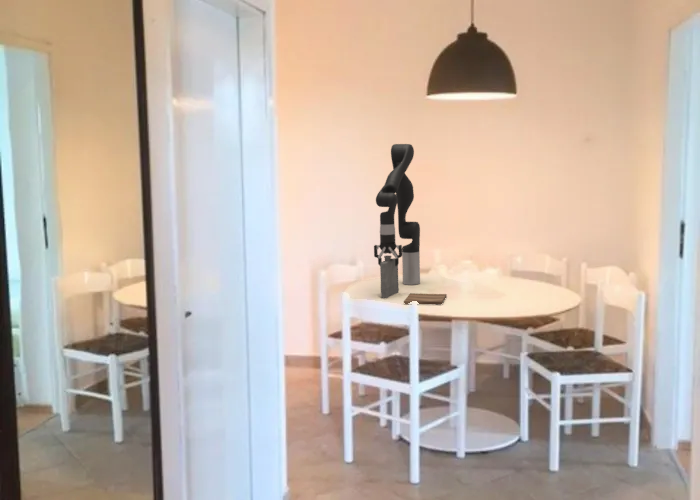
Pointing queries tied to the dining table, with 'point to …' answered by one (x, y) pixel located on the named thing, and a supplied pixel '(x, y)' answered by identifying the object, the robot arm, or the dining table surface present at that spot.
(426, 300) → the walnut board
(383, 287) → the hip flask
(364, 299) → the dining table surface
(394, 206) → the robot arm
